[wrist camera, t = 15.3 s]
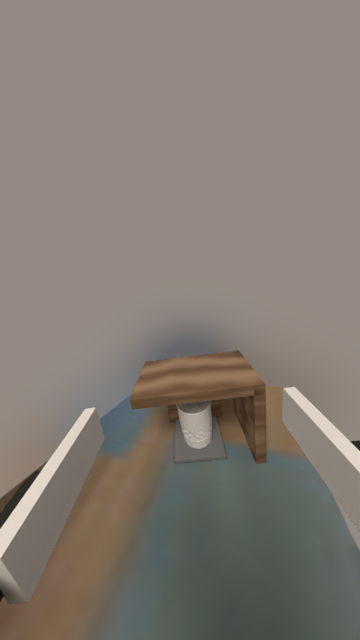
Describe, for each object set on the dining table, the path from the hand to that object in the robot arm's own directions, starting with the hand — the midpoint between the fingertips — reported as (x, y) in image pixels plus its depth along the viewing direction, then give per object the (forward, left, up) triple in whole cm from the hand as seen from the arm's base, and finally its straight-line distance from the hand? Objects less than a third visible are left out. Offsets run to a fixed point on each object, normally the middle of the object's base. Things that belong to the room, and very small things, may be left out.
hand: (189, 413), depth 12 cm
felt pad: (-11, +20, -29) cm, 37 cm away
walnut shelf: (-10, +21, -29) cm, 37 cm away
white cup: (-11, +20, -28) cm, 36 cm away
